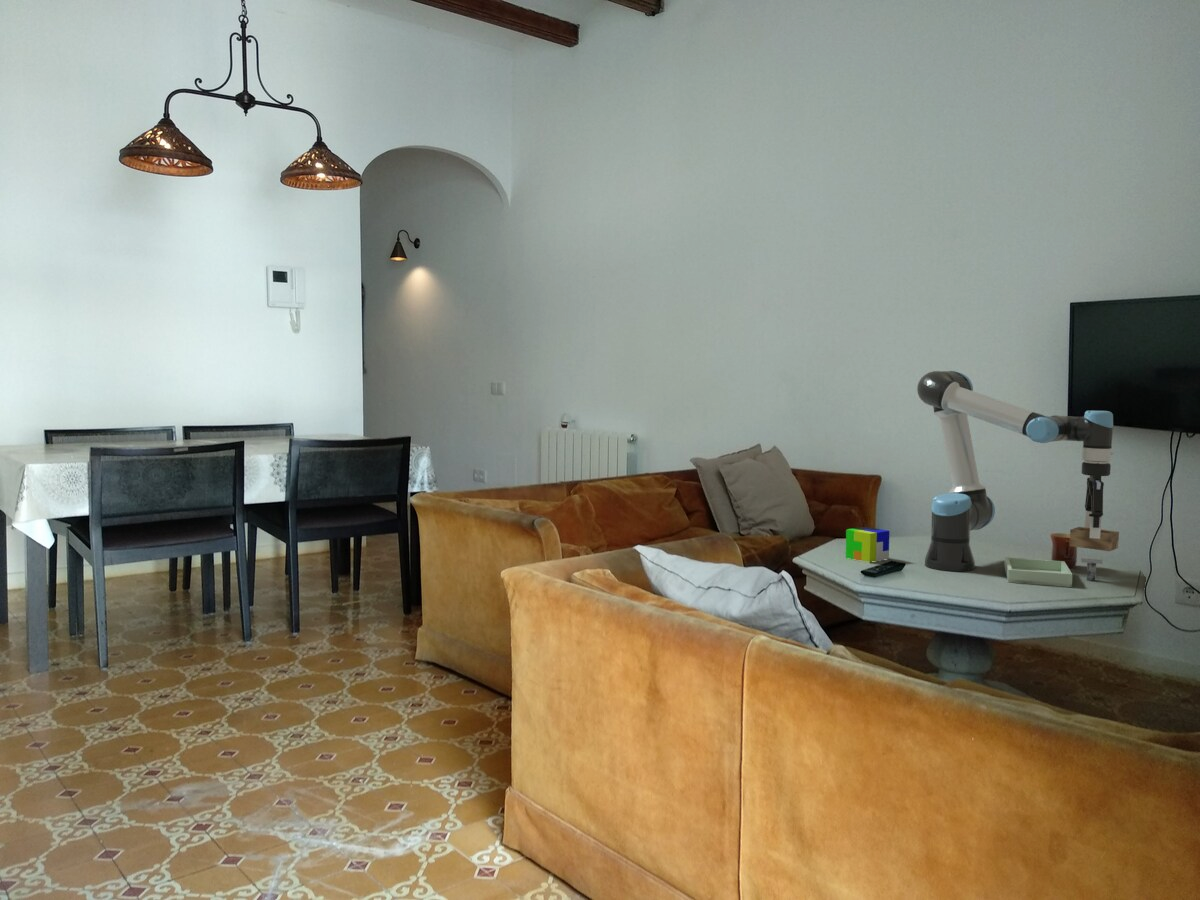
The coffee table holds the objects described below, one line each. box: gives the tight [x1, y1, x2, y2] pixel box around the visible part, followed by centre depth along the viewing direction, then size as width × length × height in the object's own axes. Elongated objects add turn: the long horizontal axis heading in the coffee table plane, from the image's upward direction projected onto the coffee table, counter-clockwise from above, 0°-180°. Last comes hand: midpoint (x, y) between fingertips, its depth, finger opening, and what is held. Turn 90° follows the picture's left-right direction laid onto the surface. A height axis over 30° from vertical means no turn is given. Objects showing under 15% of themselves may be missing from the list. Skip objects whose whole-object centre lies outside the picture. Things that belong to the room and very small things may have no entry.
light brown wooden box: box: [1069, 526, 1120, 552], centre depth 262 cm, size 11×8×5 cm
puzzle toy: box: [845, 526, 890, 562], centre depth 295 cm, size 10×10×10 cm
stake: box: [1080, 557, 1103, 582], centre depth 263 cm, size 5×2×7 cm, turn 68°
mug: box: [1049, 532, 1078, 569], centre depth 281 cm, size 12×9×10 cm
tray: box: [1004, 556, 1073, 588], centre depth 267 cm, size 17×20×4 cm
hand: (1092, 535), depth 262 cm, fingers closed on light brown wooden box, 10 cm apart
